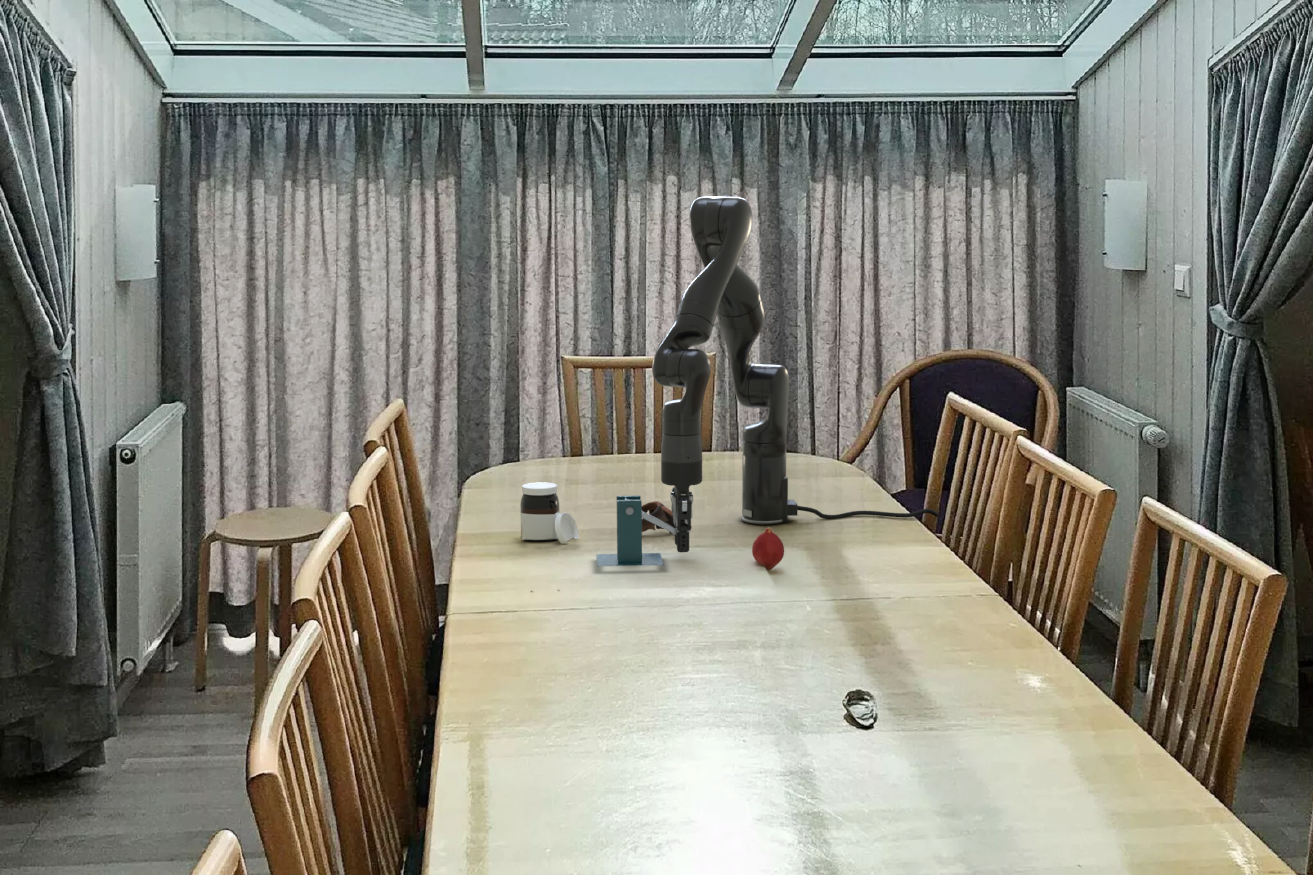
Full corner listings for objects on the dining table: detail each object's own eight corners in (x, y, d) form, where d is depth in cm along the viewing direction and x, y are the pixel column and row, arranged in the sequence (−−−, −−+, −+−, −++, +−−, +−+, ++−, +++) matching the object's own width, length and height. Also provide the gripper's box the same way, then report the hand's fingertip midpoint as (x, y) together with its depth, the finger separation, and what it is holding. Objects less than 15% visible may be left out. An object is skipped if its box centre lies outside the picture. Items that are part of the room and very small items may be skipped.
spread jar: (521, 538, 278) (520, 481, 277) (577, 536, 279) (577, 480, 277) (520, 551, 267) (519, 492, 265) (579, 550, 267) (578, 491, 266)
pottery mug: (683, 545, 273) (664, 511, 271) (642, 563, 276) (621, 530, 273) (686, 517, 284) (667, 485, 282) (646, 535, 287) (627, 503, 284)
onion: (749, 566, 254) (750, 524, 253) (780, 565, 255) (781, 523, 253) (754, 574, 248) (754, 531, 247) (786, 573, 249) (786, 530, 248)
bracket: (660, 559, 260) (660, 492, 258) (663, 571, 251) (663, 502, 249) (596, 561, 259) (595, 493, 257) (597, 572, 250) (596, 503, 248)
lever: (681, 538, 257) (687, 527, 257) (683, 544, 252) (689, 533, 252) (618, 507, 256) (624, 495, 255) (619, 512, 251) (625, 501, 250)
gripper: (705, 464, 246) (705, 557, 248) (698, 450, 260) (698, 539, 262) (663, 464, 245) (664, 558, 248) (658, 451, 259) (659, 540, 262)
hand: (681, 547), depth 255 cm, fingers closed on lever, 5 cm apart
